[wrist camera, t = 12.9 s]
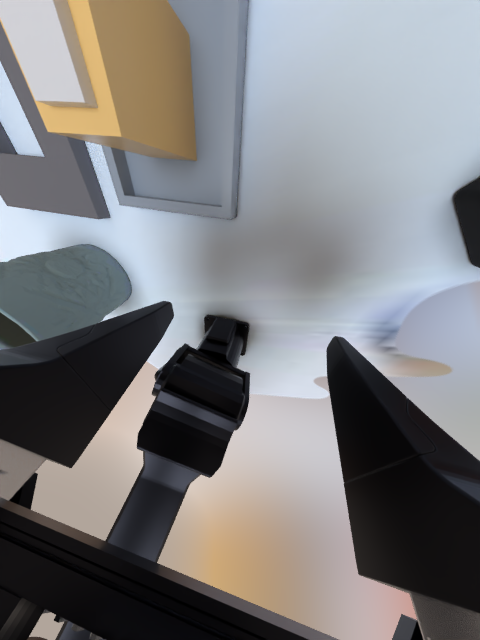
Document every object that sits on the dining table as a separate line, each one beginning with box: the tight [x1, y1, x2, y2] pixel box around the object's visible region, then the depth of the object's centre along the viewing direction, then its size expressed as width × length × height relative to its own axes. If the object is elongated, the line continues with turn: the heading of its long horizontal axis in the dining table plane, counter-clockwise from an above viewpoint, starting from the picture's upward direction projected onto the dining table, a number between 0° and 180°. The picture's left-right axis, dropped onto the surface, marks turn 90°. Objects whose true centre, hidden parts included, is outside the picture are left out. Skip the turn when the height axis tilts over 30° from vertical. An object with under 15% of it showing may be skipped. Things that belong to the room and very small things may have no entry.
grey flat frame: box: [0, 22, 110, 219], centre depth 14 cm, size 16×12×2 cm
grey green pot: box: [0, 245, 132, 350], centre depth 20 cm, size 10×10×12 cm
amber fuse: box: [0, 0, 197, 161], centre depth 9 cm, size 6×4×9 cm
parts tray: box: [102, 0, 249, 220], centre depth 12 cm, size 13×11×2 cm
